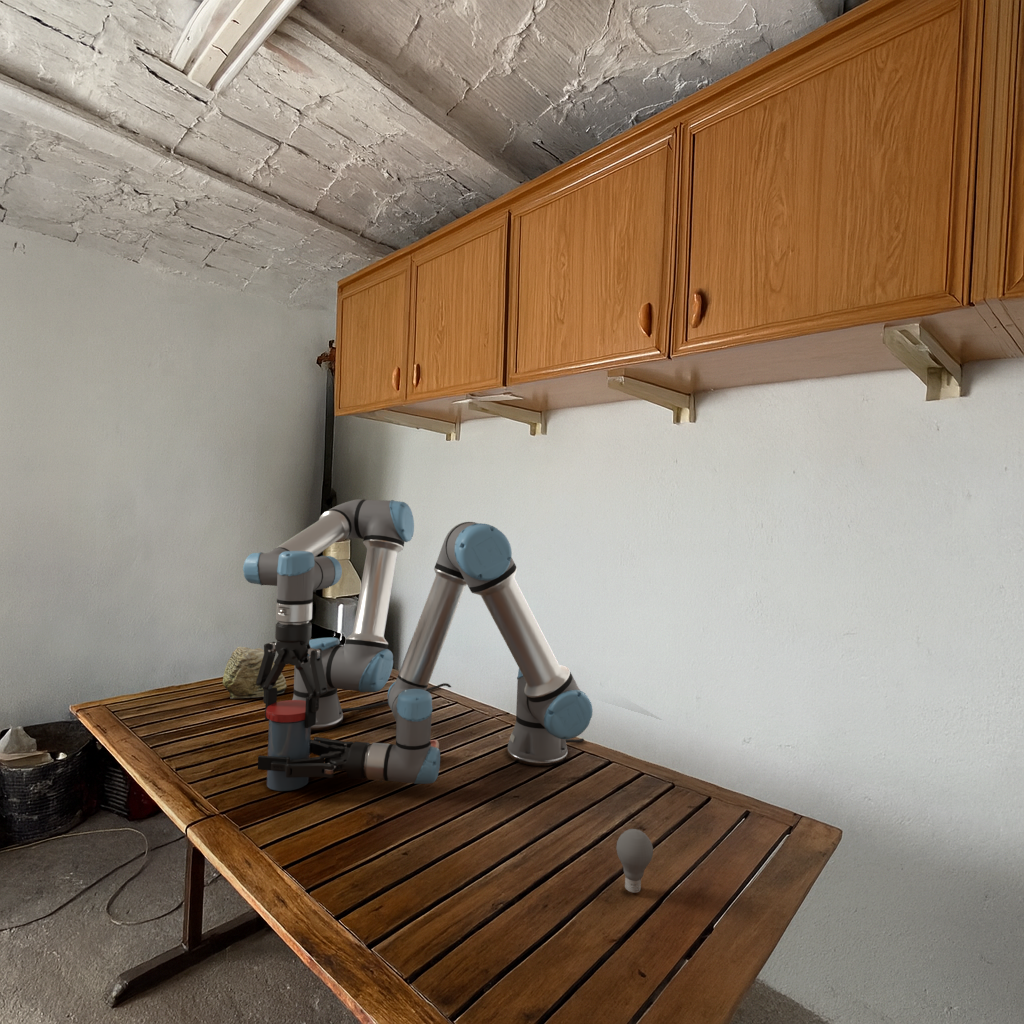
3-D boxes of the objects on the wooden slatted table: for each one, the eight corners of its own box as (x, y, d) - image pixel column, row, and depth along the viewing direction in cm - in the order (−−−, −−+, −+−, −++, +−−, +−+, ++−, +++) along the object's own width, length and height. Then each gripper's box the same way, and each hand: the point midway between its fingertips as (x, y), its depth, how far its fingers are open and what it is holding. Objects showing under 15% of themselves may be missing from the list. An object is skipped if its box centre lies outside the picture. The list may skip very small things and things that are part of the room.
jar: (288, 794, 134) (291, 719, 134) (257, 785, 138) (260, 712, 137) (317, 778, 142) (320, 707, 142) (287, 770, 146) (289, 701, 145)
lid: (302, 704, 147) (302, 697, 147) (322, 716, 139) (322, 709, 139) (258, 712, 140) (258, 705, 140) (277, 726, 132) (277, 718, 132)
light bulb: (610, 879, 108) (613, 822, 108) (644, 879, 109) (647, 822, 109) (619, 902, 102) (622, 840, 102) (655, 901, 103) (658, 840, 103)
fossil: (218, 695, 195) (220, 647, 195) (278, 685, 208) (279, 640, 207) (228, 703, 189) (230, 653, 188) (289, 692, 201) (290, 645, 201)
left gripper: (240, 619, 140) (236, 719, 140) (326, 630, 132) (322, 736, 132) (264, 613, 147) (261, 709, 147) (347, 624, 139) (343, 724, 139)
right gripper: (352, 801, 128) (244, 792, 129) (381, 758, 149) (288, 751, 151) (353, 764, 128) (245, 756, 129) (382, 726, 149) (290, 720, 151)
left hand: (290, 722), depth 140 cm, fingers closed on lid, 10 cm apart
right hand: (268, 753), depth 140 cm, fingers closed on jar, 9 cm apart
